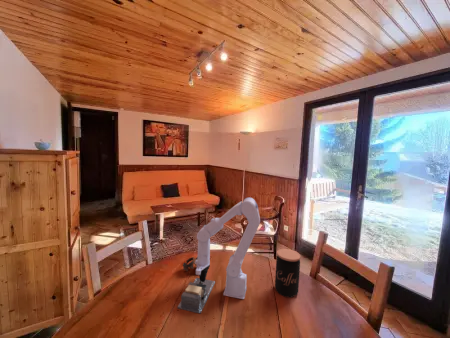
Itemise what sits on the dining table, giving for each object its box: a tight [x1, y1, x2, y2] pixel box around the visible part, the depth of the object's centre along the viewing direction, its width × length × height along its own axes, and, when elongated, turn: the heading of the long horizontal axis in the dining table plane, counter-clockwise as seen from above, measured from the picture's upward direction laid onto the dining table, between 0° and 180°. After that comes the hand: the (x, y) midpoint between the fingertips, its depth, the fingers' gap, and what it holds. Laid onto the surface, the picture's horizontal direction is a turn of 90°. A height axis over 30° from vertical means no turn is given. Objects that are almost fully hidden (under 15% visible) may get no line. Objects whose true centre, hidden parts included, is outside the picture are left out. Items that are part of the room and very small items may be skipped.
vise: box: [177, 277, 216, 315], centre depth 89 cm, size 10×20×5 cm, turn 167°
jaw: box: [187, 281, 207, 298], centre depth 89 cm, size 8×7×4 cm
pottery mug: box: [182, 256, 198, 272], centre depth 108 cm, size 12×10×8 cm
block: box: [184, 284, 202, 297], centre depth 84 cm, size 6×4×5 cm, turn 77°
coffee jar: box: [274, 248, 301, 298], centre depth 94 cm, size 11×11×18 cm
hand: (202, 281), depth 94 cm, fingers closed
